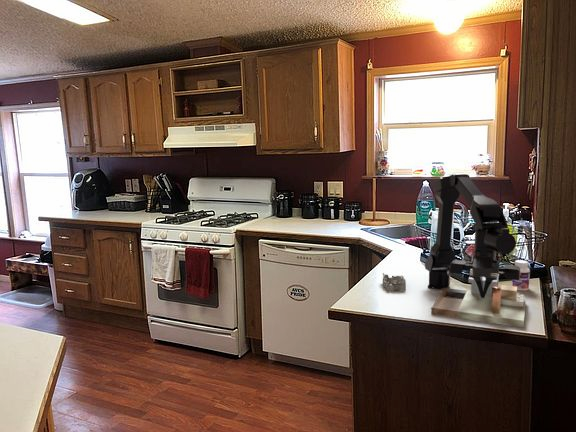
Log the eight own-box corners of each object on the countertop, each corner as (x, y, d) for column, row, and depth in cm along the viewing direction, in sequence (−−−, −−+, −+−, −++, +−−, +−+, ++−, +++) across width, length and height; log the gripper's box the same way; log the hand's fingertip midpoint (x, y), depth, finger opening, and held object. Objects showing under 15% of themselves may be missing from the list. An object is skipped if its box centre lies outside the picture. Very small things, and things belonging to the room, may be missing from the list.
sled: (490, 311, 134) (491, 288, 133) (495, 295, 147) (496, 274, 146) (522, 315, 130) (523, 292, 129) (523, 299, 144) (525, 277, 143)
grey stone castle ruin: (381, 282, 173) (381, 272, 172) (402, 282, 173) (402, 272, 172) (385, 291, 163) (385, 280, 162) (407, 291, 162) (407, 280, 161)
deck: (431, 313, 140) (431, 307, 140) (443, 293, 159) (443, 287, 158) (523, 327, 129) (523, 320, 128) (525, 303, 147) (525, 297, 147)
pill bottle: (511, 289, 160) (513, 262, 159) (511, 285, 165) (512, 259, 164) (529, 291, 158) (530, 264, 157) (528, 287, 163) (529, 260, 161)
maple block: (499, 303, 142) (500, 289, 142) (500, 298, 146) (501, 285, 145) (515, 305, 140) (516, 291, 139) (516, 300, 144) (517, 286, 143)
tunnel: (467, 300, 145) (468, 278, 144) (471, 292, 153) (472, 271, 152) (495, 304, 141) (496, 281, 140) (497, 295, 149) (498, 274, 148)
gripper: (446, 249, 131) (445, 301, 133) (520, 255, 122) (517, 311, 125) (453, 241, 140) (451, 290, 143) (521, 246, 132) (518, 298, 134)
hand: (482, 297), depth 136 cm, fingers closed
